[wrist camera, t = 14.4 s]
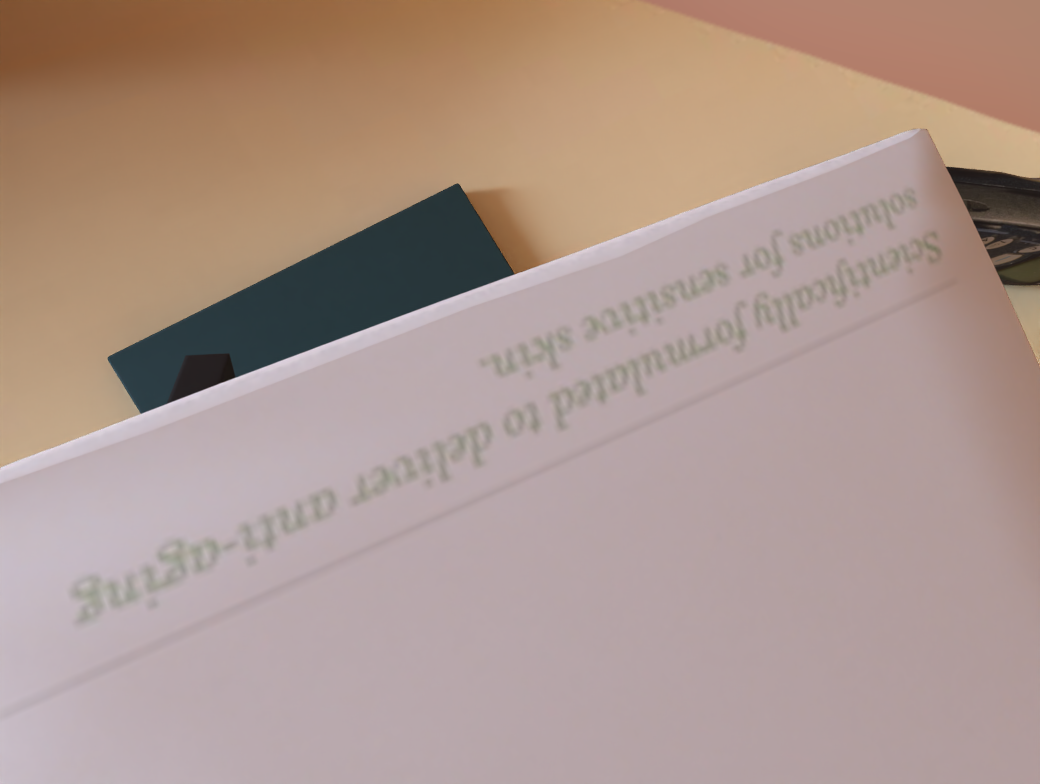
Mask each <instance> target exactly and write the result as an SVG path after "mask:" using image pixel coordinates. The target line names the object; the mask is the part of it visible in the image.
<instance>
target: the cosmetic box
mask: <svg viewBox="0 0 1040 784" xmlns="http://www.w3.org/2000/svg"><path fill="white" fill-rule="evenodd" d="M0 784H1040V366H1039V364H1038V362H1037V360H1036V357H1035V355H1034V353H1033V351H1032V348H1031V346H1030V344H1029V342H1028V339H1027V337H1026V335H1025V333H1024V331H1023V328H1022V326H1021V324H1020V322H1019V319H1018V317H1017V315H1016V313H1015V310H1014V308H1013V306H1012V304H1011V302H1010V299H1009V297H1008V295H1007V293H1006V290H1005V288H1004V286H1003V284H1002V282H1001V280H1000V278H999V276H998V273H997V271H996V269H995V267H994V265H993V263H992V261H991V259H990V257H989V255H988V252H987V250H986V248H985V246H984V244H983V242H982V240H981V238H980V236H979V234H978V231H977V229H976V227H975V225H974V223H973V221H972V219H971V217H970V215H969V212H968V210H967V208H966V206H965V204H964V202H963V200H962V198H961V196H960V194H959V192H958V190H957V188H956V186H955V184H954V182H953V180H952V178H951V176H950V174H949V172H948V170H947V168H946V166H945V164H944V162H943V160H942V158H941V156H940V154H939V152H938V150H937V148H936V146H935V144H934V143H933V141H932V139H931V137H930V135H929V133H928V131H927V129H912V130H909V131H906V132H903V133H900V134H897V135H895V136H892V137H889V138H887V139H884V140H881V141H879V142H876V143H874V144H871V145H868V146H866V147H863V148H860V149H858V150H855V151H852V152H850V153H847V154H844V155H841V156H839V157H836V158H833V159H830V160H827V161H824V162H822V163H819V164H816V165H813V166H810V167H807V168H805V169H802V170H799V171H796V172H793V173H790V174H788V175H785V176H782V177H779V178H776V179H773V180H771V181H768V182H765V183H762V184H760V185H757V186H754V187H751V188H749V189H746V190H743V191H741V192H738V193H735V194H732V195H730V196H727V197H724V198H722V199H719V200H716V201H713V202H711V203H708V204H705V205H703V206H700V207H697V208H694V209H692V210H689V211H686V212H683V213H681V214H678V215H675V216H673V217H670V218H667V219H664V220H662V221H659V222H656V223H654V224H651V225H648V226H645V227H643V228H640V229H637V230H635V231H632V232H629V233H626V234H624V235H621V236H618V237H616V238H613V239H610V240H608V241H605V242H602V243H600V244H597V245H594V246H592V247H589V248H586V249H584V250H581V251H578V252H576V253H573V254H570V255H567V256H565V257H562V258H559V259H556V260H553V261H551V262H548V263H545V264H542V265H540V266H537V267H534V268H531V269H529V270H526V271H523V272H520V273H518V274H515V275H512V276H509V277H506V278H504V279H501V280H498V281H495V282H493V283H490V284H487V285H484V286H482V287H479V288H476V289H473V290H471V291H468V292H465V293H462V294H460V295H457V296H454V297H451V298H448V299H446V300H443V301H440V302H437V303H435V304H432V305H429V306H427V307H424V308H421V309H419V310H416V311H413V312H410V313H408V314H405V315H402V316H400V317H397V318H394V319H392V320H389V321H386V322H384V323H381V324H378V325H375V326H373V327H370V328H367V329H365V330H362V331H359V332H357V333H354V334H351V335H349V336H346V337H343V338H341V339H338V340H335V341H333V342H330V343H327V344H325V345H322V346H319V347H317V348H314V349H311V350H309V351H306V352H303V353H301V354H298V355H295V356H292V357H290V358H287V359H284V360H282V361H279V362H276V363H274V364H271V365H268V366H266V367H263V368H260V369H258V370H255V371H252V372H250V373H247V374H244V375H242V376H239V377H236V378H234V379H231V380H228V381H226V382H223V383H220V384H218V385H215V386H212V387H210V388H207V389H205V390H202V391H199V392H197V393H194V394H192V395H189V396H186V397H184V398H181V399H179V400H176V401H173V402H171V403H168V404H166V405H163V406H160V407H158V408H155V409H153V410H150V411H147V412H145V413H142V414H139V415H137V416H134V417H132V418H129V419H126V420H124V421H121V422H119V423H116V424H113V425H111V426H108V427H106V428H103V429H100V430H98V431H95V432H93V433H90V434H87V435H85V436H82V437H80V438H77V439H74V440H72V441H69V442H67V443H64V444H61V445H59V446H56V447H53V448H51V449H48V450H45V451H42V452H40V453H37V454H34V455H32V456H29V457H26V458H23V459H21V460H18V461H15V462H13V463H10V464H8V465H5V466H3V467H0Z"/></svg>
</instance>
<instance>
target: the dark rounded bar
mask: <svg viewBox="0 0 1040 784" xmlns="http://www.w3.org/2000/svg"><path fill="white" fill-rule="evenodd" d="M946 168H947V170H948V172H949V174H950V176H951V178H952V180H953V182H954V184H955V186H956V188H957V190H958V192H959V194H960V196H961V198H962V200H963V202H964V204H965V206H966V208H967V210H968V212H969V215H970V217H971V219H972V221H973V223H974V225H975V227H976V229H977V231H978V234H979V236H980V238H981V240H982V242H983V244H984V246H985V248H986V250H987V252H988V255H989V257H990V259H991V261H992V263H993V265H994V267H995V269H996V271H997V273H998V276H999V278H1000V280H1001V282H1002V284H1005V285H1040V178H1026V177H1020V176H1016V175H1012V174H1007V173H1002V172H996V171H985V170H975V169H964V168H955V167H946Z"/></svg>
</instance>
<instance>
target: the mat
mask: <svg viewBox="0 0 1040 784" xmlns="http://www.w3.org/2000/svg"><path fill="white" fill-rule="evenodd" d="M512 275H515V274H514V272H513V271H512V269H511V267H510V266H509V264H508V263H507V261H506V259H505V258H504V256H503V254H502V253H501V251H500V250H499V248H498V246H497V245H496V243H495V241H494V240H493V238H492V237H491V235H490V233H489V232H488V230H487V229H486V227H485V225H484V224H483V222H482V220H481V219H480V217H479V216H478V214H477V212H476V211H475V209H474V207H473V206H472V204H471V203H470V201H469V199H468V198H467V196H466V194H465V193H464V191H463V190H462V188H461V186H460V185H459V184H455V185H453V186H451V187H449V188H447V189H445V190H443V191H441V192H439V193H437V194H435V195H433V196H431V197H429V198H427V199H425V200H423V201H421V202H419V203H417V204H415V205H413V206H411V207H409V208H407V209H405V210H403V211H401V212H399V213H397V214H395V215H393V216H391V217H389V218H387V219H385V220H383V221H381V222H378V223H376V224H374V225H372V226H370V227H368V228H366V229H364V230H362V231H360V232H358V233H356V234H354V235H352V236H350V237H348V238H346V239H344V240H342V241H340V242H338V243H336V244H334V245H332V246H330V247H328V248H326V249H324V250H322V251H320V252H318V253H316V254H314V255H312V256H310V257H308V258H306V259H304V260H302V261H300V262H298V263H296V264H294V265H292V266H290V267H288V268H286V269H284V270H282V271H280V272H278V273H276V274H274V275H272V276H270V277H268V278H266V279H264V280H262V281H260V282H258V283H256V284H254V285H252V286H250V287H248V288H246V289H244V290H242V291H240V292H238V293H236V294H234V295H232V296H230V297H228V298H226V299H224V300H222V301H220V302H218V303H215V304H213V305H211V306H209V307H207V308H205V309H203V310H201V311H199V312H197V313H195V314H193V315H191V316H189V317H187V318H185V319H183V320H181V321H179V322H177V323H175V324H173V325H171V326H169V327H167V328H165V329H163V330H161V331H159V332H157V333H155V334H153V335H151V336H149V337H147V338H145V339H143V340H141V341H139V342H137V343H135V344H133V345H131V346H129V347H127V348H125V349H123V350H121V351H119V352H117V353H115V354H113V355H111V356H109V357H108V361H109V363H110V364H111V366H112V367H113V369H114V371H115V372H116V374H117V376H118V377H119V379H120V380H121V382H122V384H123V385H124V387H125V389H126V390H127V392H128V393H129V395H130V397H131V398H132V400H133V402H134V403H135V405H136V407H137V408H138V410H139V411H140V413H141V414H142V413H145V412H147V411H150V410H153V409H155V408H158V407H160V406H163V405H166V404H167V401H168V399H169V396H170V394H171V391H172V389H173V386H174V383H175V381H176V378H177V376H178V373H179V371H180V368H181V366H182V363H183V361H184V358H185V356H186V355H205V354H225V353H229V354H230V358H231V362H232V366H233V369H234V373H235V377H239V376H242V375H244V374H247V373H250V372H252V371H255V370H258V369H260V368H263V367H266V366H268V365H271V364H274V363H276V362H279V361H282V360H284V359H287V358H290V357H292V356H295V355H298V354H301V353H303V352H306V351H309V350H311V349H314V348H317V347H319V346H322V345H325V344H327V343H330V342H333V341H335V340H338V339H341V338H343V337H346V336H349V335H351V334H354V333H357V332H359V331H362V330H365V329H367V328H370V327H373V326H375V325H378V324H381V323H384V322H386V321H389V320H392V319H394V318H397V317H400V316H402V315H405V314H408V313H410V312H413V311H416V310H419V309H421V308H424V307H427V306H429V305H432V304H435V303H437V302H440V301H443V300H446V299H448V298H451V297H454V296H457V295H460V294H462V293H465V292H468V291H471V290H473V289H476V288H479V287H482V286H484V285H487V284H490V283H493V282H495V281H498V280H501V279H504V278H506V277H509V276H512Z"/></svg>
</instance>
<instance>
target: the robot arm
mask: <svg viewBox="0 0 1040 784" xmlns="http://www.w3.org/2000/svg"><path fill="white" fill-rule="evenodd" d="M234 378H236V377H235V373H234V369H233V366H232V362H231V358H230V354H229V353H225V354H205V355H186V356H185V358H184V361H183V363H182V366H181V368H180V371H179V373H178V376H177V378H176V381H175V383H174V386H173V389H172V391H171V394H170V396H169V399H168V401H167V404H168V403H171V402H173V401H176V400H179V399H181V398H184V397H186V396H189V395H192V394H194V393H197V392H199V391H202V390H205V389H207V388H210V387H212V386H215V385H218V384H220V383H223V382H226V381H228V380H231V379H234Z"/></svg>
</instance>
